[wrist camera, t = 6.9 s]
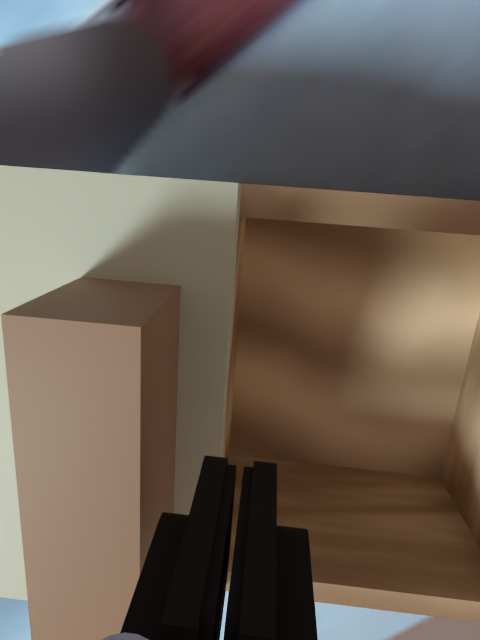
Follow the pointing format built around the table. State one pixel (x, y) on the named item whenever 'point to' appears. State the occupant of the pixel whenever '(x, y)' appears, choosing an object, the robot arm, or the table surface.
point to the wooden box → (363, 389)
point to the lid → (105, 378)
